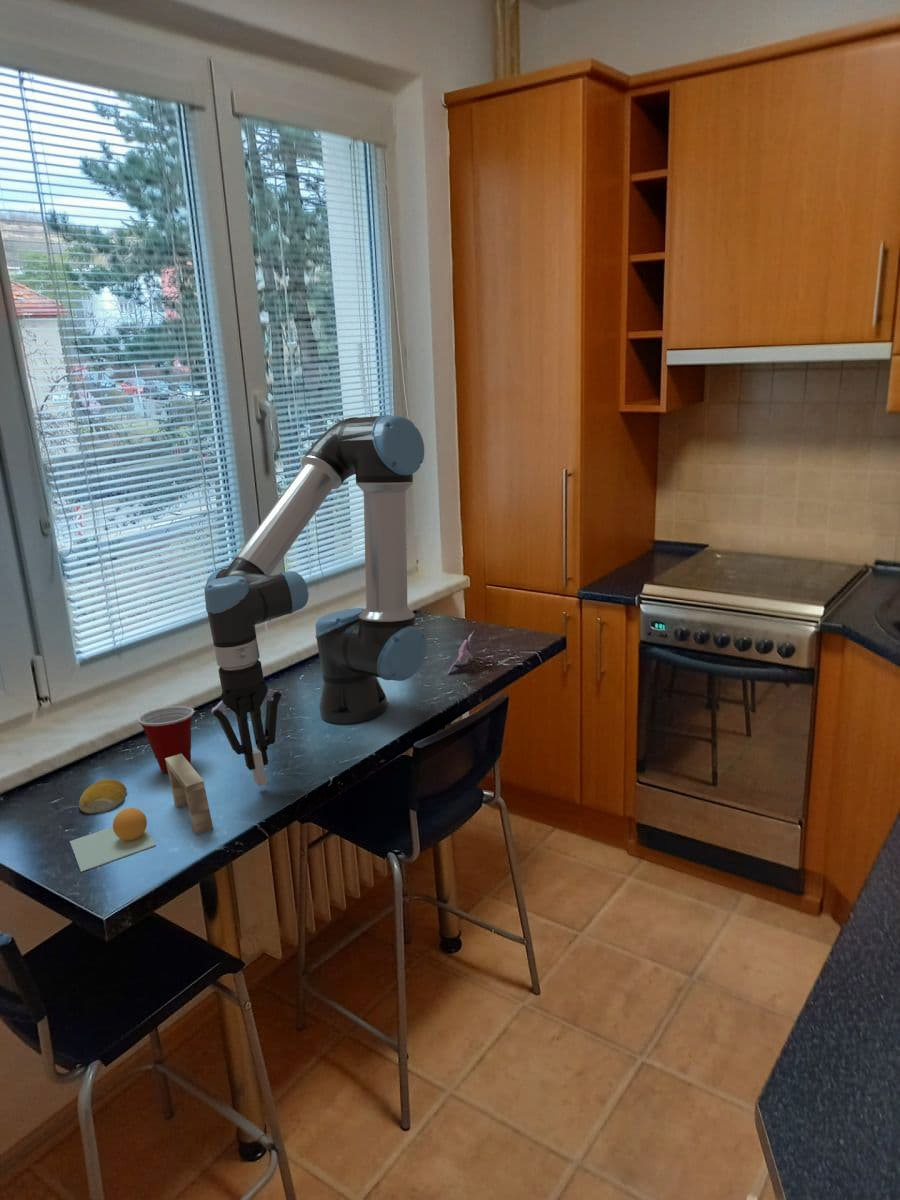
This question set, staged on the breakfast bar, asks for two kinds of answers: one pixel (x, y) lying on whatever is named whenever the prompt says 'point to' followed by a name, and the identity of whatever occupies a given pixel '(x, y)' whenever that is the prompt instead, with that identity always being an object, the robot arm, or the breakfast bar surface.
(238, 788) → the breakfast bar surface
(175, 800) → the bridge
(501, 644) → the breakfast bar surface
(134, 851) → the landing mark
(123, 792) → the yellow bowl
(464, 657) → the lily
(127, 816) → the ball
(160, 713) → the plastic cup
